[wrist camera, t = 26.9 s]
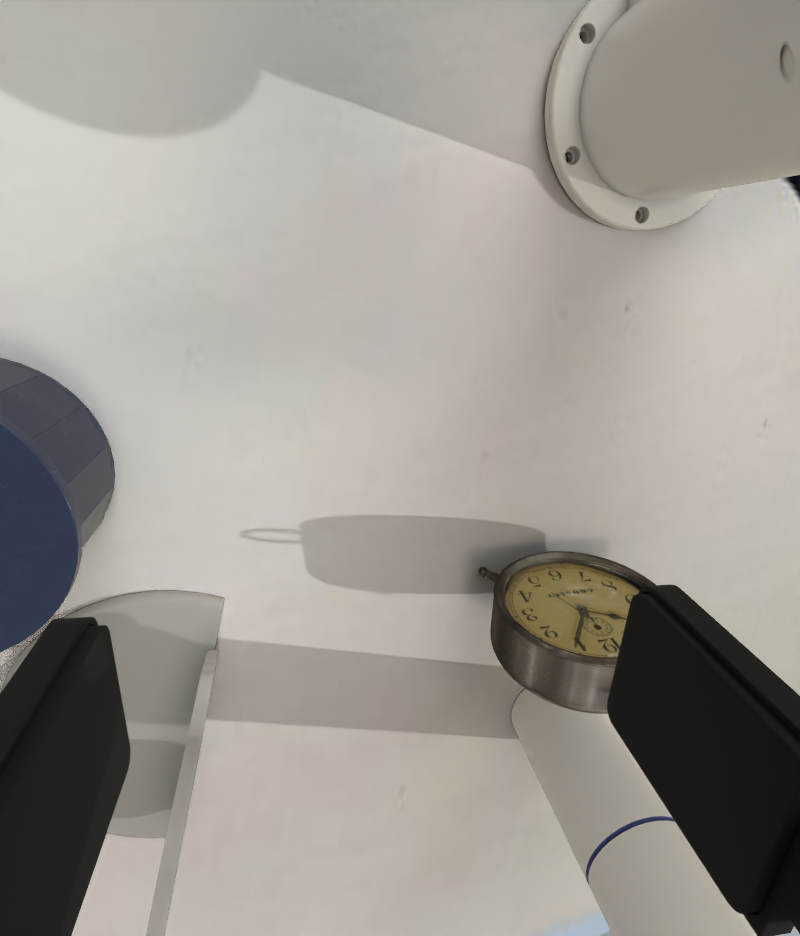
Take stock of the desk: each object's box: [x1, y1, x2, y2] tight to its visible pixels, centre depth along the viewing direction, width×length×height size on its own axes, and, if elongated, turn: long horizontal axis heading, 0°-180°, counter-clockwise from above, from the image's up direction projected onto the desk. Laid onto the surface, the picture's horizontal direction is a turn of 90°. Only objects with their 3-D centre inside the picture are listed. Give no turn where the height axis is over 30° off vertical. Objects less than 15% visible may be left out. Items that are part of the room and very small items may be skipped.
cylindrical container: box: [511, 689, 757, 936], centre depth 34 cm, size 7×7×25 cm
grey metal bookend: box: [0, 591, 224, 936], centre depth 30 cm, size 22×13×17 cm, turn 165°
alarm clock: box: [479, 551, 656, 714], centre depth 33 cm, size 11×5×16 cm, turn 90°
